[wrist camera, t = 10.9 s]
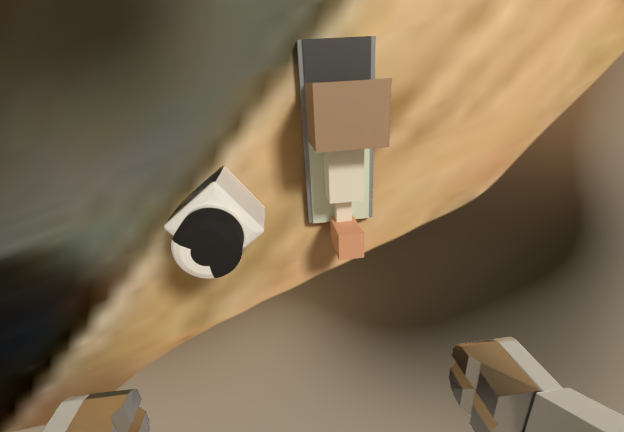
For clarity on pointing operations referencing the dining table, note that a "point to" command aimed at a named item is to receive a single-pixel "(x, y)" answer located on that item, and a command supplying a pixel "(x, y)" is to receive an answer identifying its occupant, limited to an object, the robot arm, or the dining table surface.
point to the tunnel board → (340, 113)
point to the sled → (345, 200)
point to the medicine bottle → (215, 226)
